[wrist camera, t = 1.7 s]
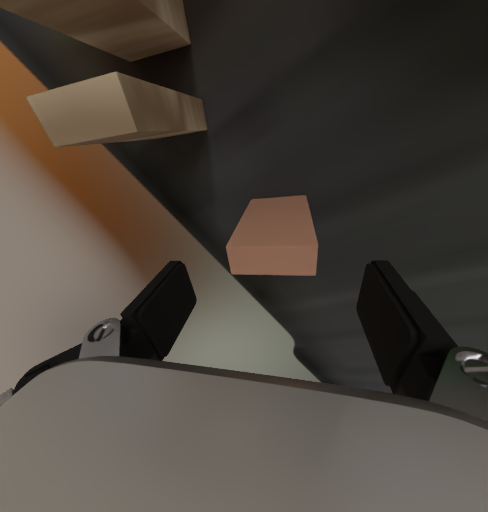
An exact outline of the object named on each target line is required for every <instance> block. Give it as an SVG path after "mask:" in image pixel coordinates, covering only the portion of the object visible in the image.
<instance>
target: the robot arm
mask: <svg viewBox="0 0 488 512" xmlns="http://www.w3.org/2000/svg"><path fill="white" fill-rule="evenodd" d="M195 304H196V296H195V293H194V290H193V287H192V284H191V281H190V278H189V275H188V272H187V270H186V267H185V265H184V264H183V263H182V262H181V261H170V262H169V263H168V264H167V265H166V266H165V267H164V268H163V269H162V270H161V271H160V272H159V273H158V274H157V275H156V276H155V278H154V279H153V280H152V281H151V282H150V283H149V284H148V285H147V286H146V287H145V288H144V289H143V290H142V291H141V292H140V294H139V295H138V296H137V297H136V298H135V299H134V300H133V301H132V302H131V303H130V304H129V305H128V306H127V307H126V308H125V309H124V311H123V312H122V313H121V316H122V318H123V319H122V320H121V321H120V320H119V319H117V318H109V319H106V320H103V321H101V322H99V323H97V324H96V325H95V326H93V327H92V328H91V329H90V330H89V331H88V332H87V333H86V334H85V336H84V339H83V342H82V343H81V344H79V345H77V346H75V347H73V348H71V349H69V350H67V351H64V352H62V353H60V354H58V355H56V356H54V357H52V358H50V359H48V360H46V361H44V362H42V363H40V364H38V365H36V366H34V367H33V368H31V369H30V370H29V371H28V372H27V373H26V374H25V375H24V376H23V377H22V378H21V379H20V380H19V382H18V383H17V385H16V387H15V390H14V389H12V388H10V389H9V390H7V391H6V392H4V393H2V394H1V395H0V512H488V353H486V352H483V351H481V350H478V349H474V348H470V347H458V346H457V344H456V343H455V342H454V341H453V339H452V338H451V337H450V336H449V334H448V333H447V332H446V331H445V329H444V328H443V327H442V326H441V324H440V323H439V322H438V321H437V319H436V318H435V317H434V316H433V314H432V313H431V312H430V311H429V309H428V308H427V307H426V306H425V304H424V303H423V302H422V301H421V299H420V298H419V297H418V296H417V294H416V293H415V292H414V291H412V290H411V289H410V288H409V287H408V285H407V284H406V283H405V282H404V280H403V279H402V278H401V276H400V275H399V274H398V273H397V271H396V270H395V269H394V268H393V266H392V265H391V264H390V262H389V261H372V262H371V264H367V265H366V268H365V273H364V277H363V281H362V285H361V290H360V294H359V298H358V302H357V313H358V316H359V318H360V321H361V324H362V326H363V329H364V332H365V334H366V337H367V339H368V342H369V345H370V347H371V350H372V352H373V355H374V358H375V360H376V363H377V365H378V368H379V371H380V373H381V376H382V378H383V381H384V383H385V384H386V385H387V386H390V387H391V390H392V392H393V394H391V393H385V392H379V391H372V390H366V389H360V388H353V387H347V386H341V385H333V384H326V383H319V382H312V381H305V380H298V379H291V378H283V377H277V376H270V375H262V374H255V373H248V372H240V371H233V370H225V369H218V368H211V367H203V366H196V365H188V364H180V363H173V362H165V361H162V360H163V359H164V357H166V356H167V355H168V353H169V352H170V350H171V348H172V346H173V344H174V342H175V341H176V339H177V337H178V335H179V334H180V332H181V330H182V328H183V326H184V324H185V323H186V321H187V319H188V317H189V315H190V313H191V312H192V310H193V308H194V306H195Z"/></svg>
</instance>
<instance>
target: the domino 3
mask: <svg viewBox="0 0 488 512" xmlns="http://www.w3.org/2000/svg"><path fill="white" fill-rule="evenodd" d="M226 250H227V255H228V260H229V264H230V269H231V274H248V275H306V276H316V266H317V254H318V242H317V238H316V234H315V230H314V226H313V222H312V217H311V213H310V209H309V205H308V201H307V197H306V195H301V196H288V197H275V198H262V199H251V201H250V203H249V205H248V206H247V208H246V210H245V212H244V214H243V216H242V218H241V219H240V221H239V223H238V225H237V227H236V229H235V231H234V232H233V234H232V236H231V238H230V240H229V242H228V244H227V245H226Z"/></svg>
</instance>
